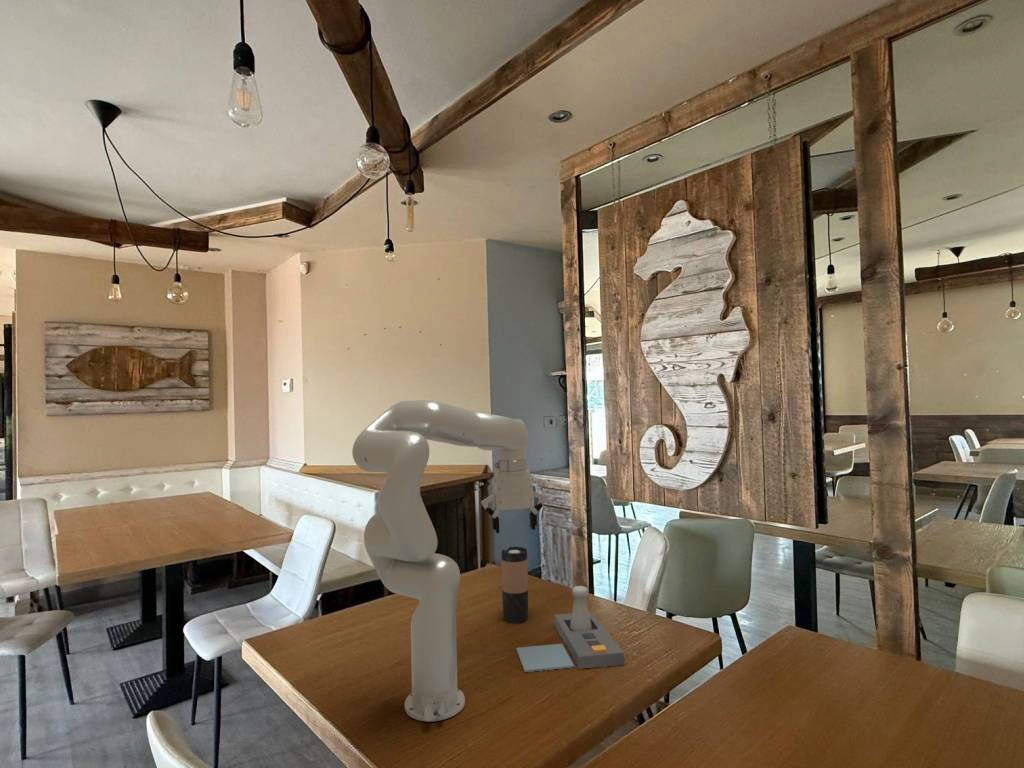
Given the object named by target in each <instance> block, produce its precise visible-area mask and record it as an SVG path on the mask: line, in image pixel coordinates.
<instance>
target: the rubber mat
mask: <svg viewBox="0 0 1024 768" xmlns="http://www.w3.org/2000/svg"><path fill="white" fill-rule="evenodd" d="M515 649H516V653H517V655H518V658H520V659H519V661H520V664H521V667H522V666H523V667H522V668H523V669H524V670H523V669H522V670H523V672H524V673H525V672H529V673H535V672H534V671H539V672H547V670H549V671H555V670H554V669H559V670H564V669H563V668H570V669H572V668H571V667H574V668H575V664H574V662H573V661H572V659H571V657H570V656H569V653H568V652H567V650H566V648H565V646H564V645H563V643H556V644H545V645H544V644H543V645H534V646H533V645H532V646H522V647H516V648H515ZM543 670H545V671H543Z"/></svg>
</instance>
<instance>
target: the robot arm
mask: <svg viewBox="0 0 1024 768" xmlns="http://www.w3.org/2000/svg"><path fill="white" fill-rule="evenodd" d="M428 441H433V442H437V443H444V444H450V445H454V446H460V447H470V448H478V449H480V450H483V451H494V452H495V451H496V452H497V461H496V462H492V468H493V469H495V468H496V469H497V471H496V472H495V478H494V492H493V494H490V495H488V496H487V497H486V498H483V500H481V502H480V503H481V505H482V507H483V508H484V510H485V512H487V514H488V515H489V516H491V517H492V518H491V520H492V521H491V522H492V530H494V532H495V534H499V533H500V518H499V517H498V516H499V514H500V512H509V511H520V510H521V511H522V510H528V509H529V510H530V513H529V527H530V529H531V530H533V531H536V527H537V525H538V517H537V516H538V514H539V512H540V511H541V510H542V508H543V506H544V504H545V501H546V500H547V496H545V495H544V494H541V493H539V492H537V491H534V486H533V479H532V478H533V477H532V475H531V474H532V473H531V470H530V469H528V466H527V444H528V441H529V431H528V429H527V426H526V424H525V421H524V420H522V419H520V418H511V417H508V416H503V415H502V416H501V415H498V414H492V413H491V414H490V413H485V412H481V411H477V410H476V411H475V410H470V409H465V408H462V407H459V406H454V405H451V404H448V403H444V402H441V401H438V400H432V399H431V400H429V399H427V400H426V399H423V400H422V399H421V400H419V399H418V400H401V401H399V402H397V403H395V404H393V405H391V406H390V407H388V408H387V410H385V411H384V412H383V413H382V414H380V415H379V416H378V417H377V418H376V419H375V420H374V421H372V422H371V423H370V424H368V426H367V427H365V428H364V429H363V430H362V431H361V432H360V433H359V435H358V436H357V437H356V438H355V440H354V443H353V445H352V452H351V453H352V458H353V461H354V463H355V464H356V466H358V468H360V469H362V470H364V471H366V472H370V473H371V472H372V473H386V476H385V479H384V482H383V485H382V487H381V489H380V491H379V494H378V498H377V506H378V507H377V508H378V510H379V512H376V513H375V514H373V515H372V516H371V517H370V518H369V519H368V521H367V523H366V525H365V528H364V533H363V543H364V547H365V550H366V553H367V555H368V557H369V560H370V561H371V563H372V565H373V568H374V569H375V571H376V573H377V575H378V576H379V579H380V581H381V582H382V584H383V585H384V587H385V588H386V589H387V590H388V591H390V592H391V593H394V594H397V595H401V596H405V597H410V598H413V599H417V600H418V601H419V602H418V605H417V607H416V609H415V610H414V612H413V614H412V617H411V621H410V645H411V646H410V648H411V649H410V652H411V655H410V656H411V658H410V659H411V661H410V663H411V693H409V695H408V696H406V699H405V700H404V711H405V713H406V714H407V716H409V717H410V718H412V719H414V720H417V721H420V722H439V721H445V720H447V719H450V718H453V717H454V716H456V715H457V714H459V713H460V712H461V711H462V710H463V708H464V707H465V703H466V699H465V694H464V692H463V691H462V690H460V689H459V688H458V660H457V657H458V656H457V654H458V653H457V650H458V649H457V602H458V601H457V600H458V594H459V587H460V583H461V582H460V581H461V572H460V567H459V565H458V564H457V562H456V561H455V560H454V559H453V558H451V557H450V556H447V555H445V554H440V553H436V551H437V548H438V535H437V533H436V530H435V527H434V525H433V522H432V520H431V518H430V516H429V514H428V511H427V509H426V506H425V504H424V501H423V499H422V496H421V485H422V481H423V477H424V472H425V471H426V467H427V465H428V463H429V459H430V446H429V442H428ZM535 498H536V499H538V502H537V503H536V504H535ZM493 501H494V505H495V506H494V508H493V509H492V508H490V506H489V504H490V503H491V502H493Z"/></svg>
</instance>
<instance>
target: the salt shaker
mask: <svg viewBox="0 0 1024 768" xmlns="http://www.w3.org/2000/svg"><path fill="white" fill-rule="evenodd" d="M571 590H572V591H571V595H572V596H573V604H572V611H571V612H572V617H571V624H570V629H571V631H583V630H591V628H592V625H591V621H590V616H589V612H590V611H589V607H588V602H587V597H588V596H589V589H588V588H587V587H586V586H584V585H575V586H573V588H572V589H571Z"/></svg>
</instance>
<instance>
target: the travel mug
mask: <svg viewBox="0 0 1024 768" xmlns="http://www.w3.org/2000/svg"><path fill="white" fill-rule="evenodd" d="M528 571H529V570H528V550H527V548H525V547H521V546H509V547H508V548H507V549H502V550H501V594H502V596H501V598H502V615H503V621H504V622H505V623H508V624H512V625H513V624H515V625H516V624H523V623H525V622H527V621H528V619H529V618H528V617H529V581H528V580H529V577H528V576H529V574H528V573H529V572H528Z"/></svg>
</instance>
